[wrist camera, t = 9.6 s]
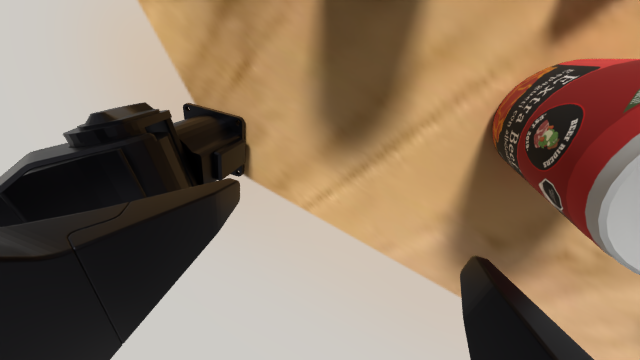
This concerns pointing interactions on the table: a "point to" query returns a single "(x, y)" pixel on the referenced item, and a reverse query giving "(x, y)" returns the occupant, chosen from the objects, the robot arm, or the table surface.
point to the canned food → (581, 147)
